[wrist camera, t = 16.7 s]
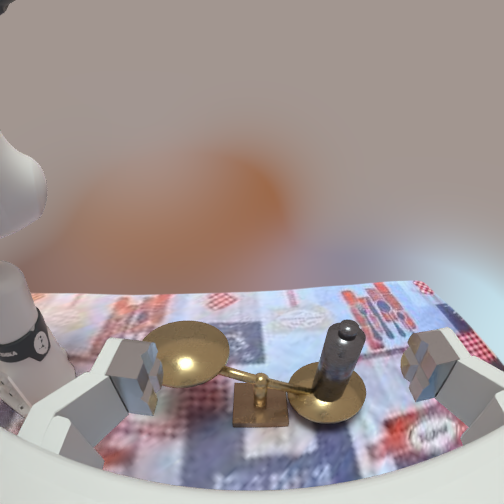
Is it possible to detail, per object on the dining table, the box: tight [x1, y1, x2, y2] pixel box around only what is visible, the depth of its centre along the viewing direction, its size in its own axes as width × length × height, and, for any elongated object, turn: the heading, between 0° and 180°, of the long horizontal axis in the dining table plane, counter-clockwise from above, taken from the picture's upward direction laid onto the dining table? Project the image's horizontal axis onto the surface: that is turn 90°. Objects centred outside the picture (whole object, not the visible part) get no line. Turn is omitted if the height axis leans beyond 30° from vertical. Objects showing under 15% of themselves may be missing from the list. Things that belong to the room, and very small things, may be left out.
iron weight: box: [311, 320, 366, 402], centre depth 36 cm, size 5×5×12 cm
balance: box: [143, 321, 366, 427], centre depth 37 cm, size 32×12×13 cm, turn 90°
